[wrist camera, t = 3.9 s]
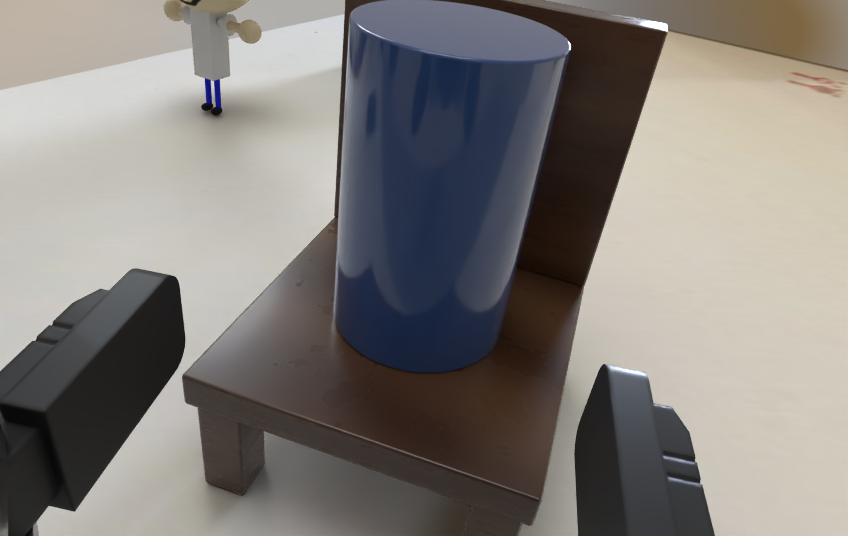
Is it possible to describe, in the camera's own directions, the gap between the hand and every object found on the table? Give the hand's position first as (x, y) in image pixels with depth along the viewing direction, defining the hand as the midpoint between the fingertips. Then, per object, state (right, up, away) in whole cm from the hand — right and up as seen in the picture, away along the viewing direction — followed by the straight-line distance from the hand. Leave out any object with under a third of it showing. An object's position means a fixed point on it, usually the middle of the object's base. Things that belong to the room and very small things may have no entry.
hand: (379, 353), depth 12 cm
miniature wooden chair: (0, -4, +14) cm, 14 cm away
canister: (+1, 0, +11) cm, 11 cm away
